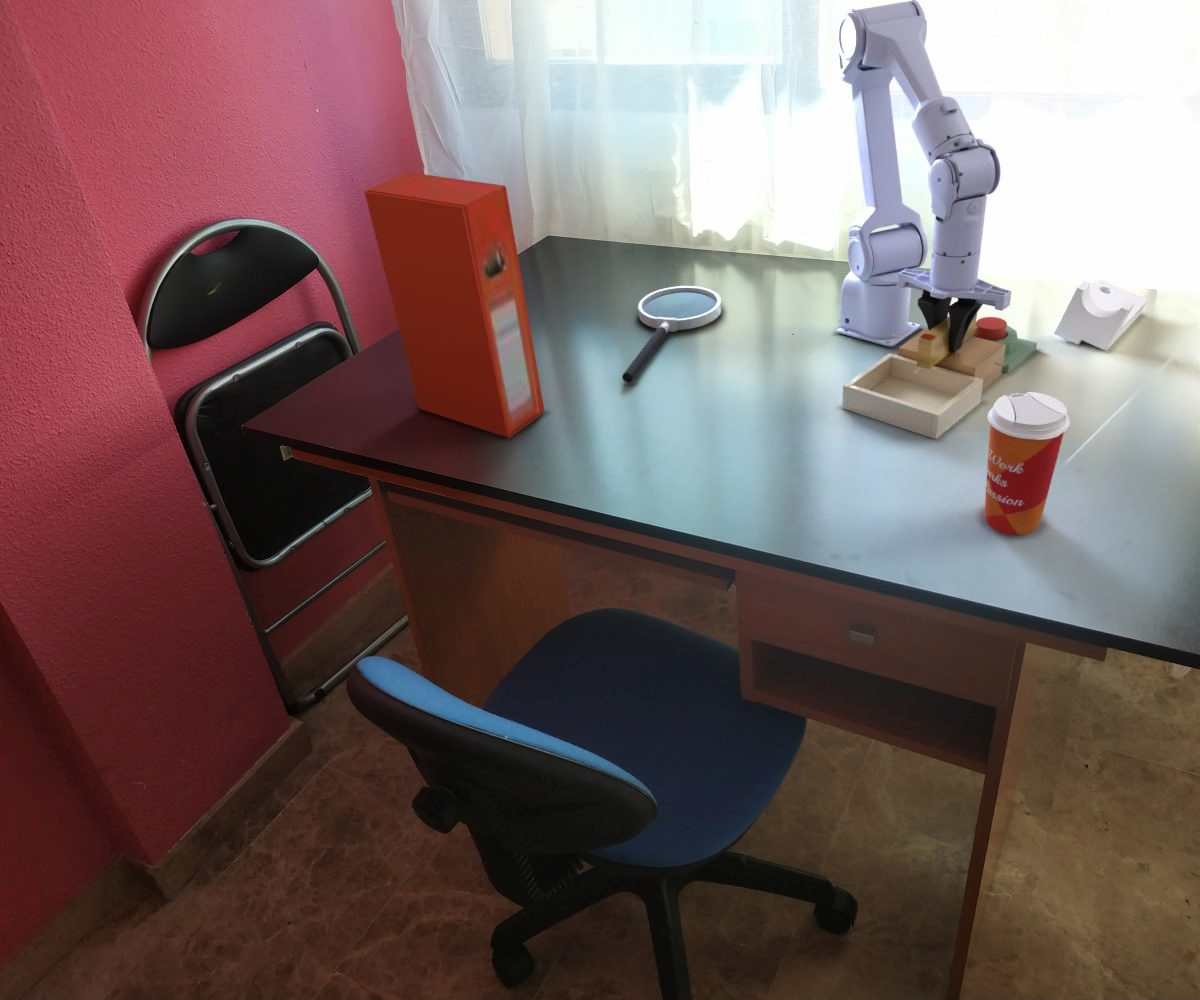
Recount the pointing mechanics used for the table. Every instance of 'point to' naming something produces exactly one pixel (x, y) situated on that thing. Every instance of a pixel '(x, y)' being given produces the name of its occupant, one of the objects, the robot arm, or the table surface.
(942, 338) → the golden tan long bar
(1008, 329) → the tap control
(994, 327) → the tap button
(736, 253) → the table surface
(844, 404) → the wooden tray
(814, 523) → the table surface
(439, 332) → the file binder
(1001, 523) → the paper cup
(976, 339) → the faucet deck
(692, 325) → the magnifying glass
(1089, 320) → the bracket
